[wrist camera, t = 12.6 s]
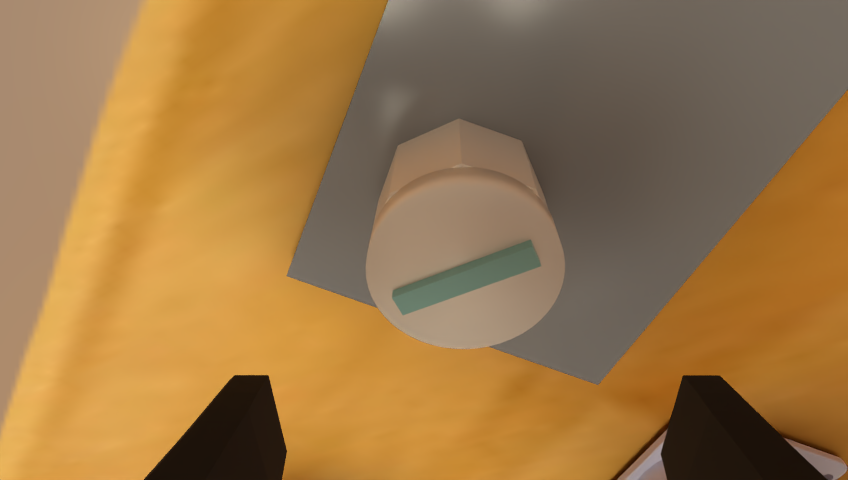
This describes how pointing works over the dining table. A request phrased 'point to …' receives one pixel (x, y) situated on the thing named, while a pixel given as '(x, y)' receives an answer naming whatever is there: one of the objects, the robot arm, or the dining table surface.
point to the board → (590, 138)
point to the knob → (463, 240)
